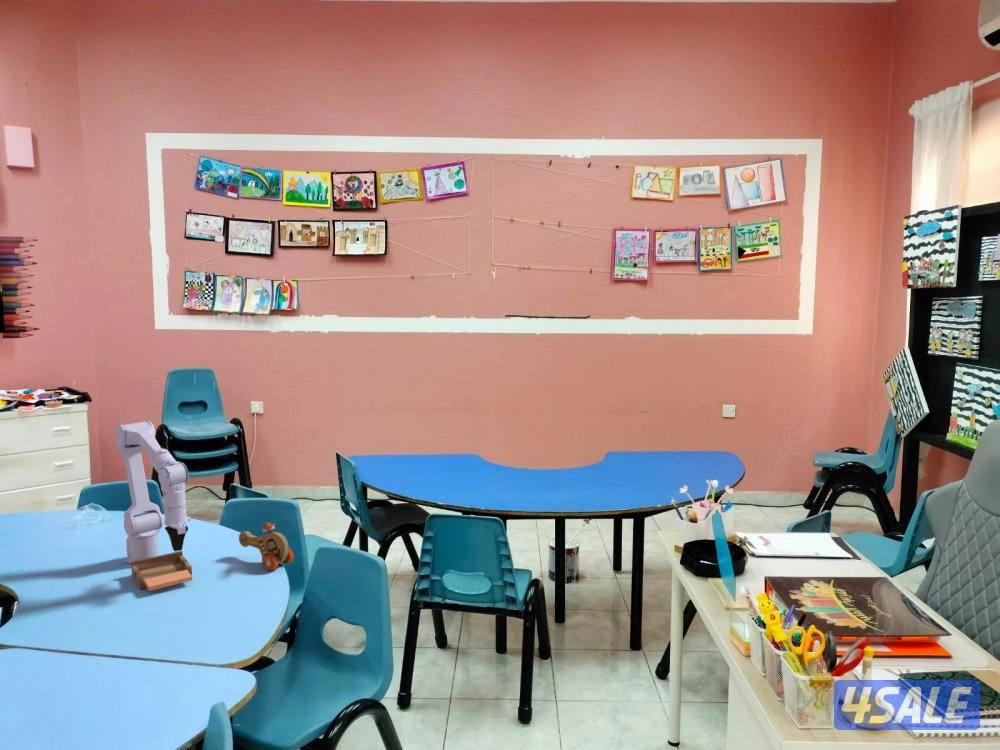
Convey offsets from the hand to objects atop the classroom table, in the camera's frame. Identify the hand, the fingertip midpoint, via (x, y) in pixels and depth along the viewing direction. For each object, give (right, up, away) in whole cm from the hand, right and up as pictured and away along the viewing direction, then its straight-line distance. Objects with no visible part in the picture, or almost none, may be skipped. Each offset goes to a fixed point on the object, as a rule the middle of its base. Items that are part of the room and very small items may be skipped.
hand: (177, 550), depth 202 cm
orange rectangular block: (-3, -8, -2) cm, 8 cm away
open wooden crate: (-6, -9, +3) cm, 11 cm away
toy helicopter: (+21, -8, +15) cm, 27 cm away
